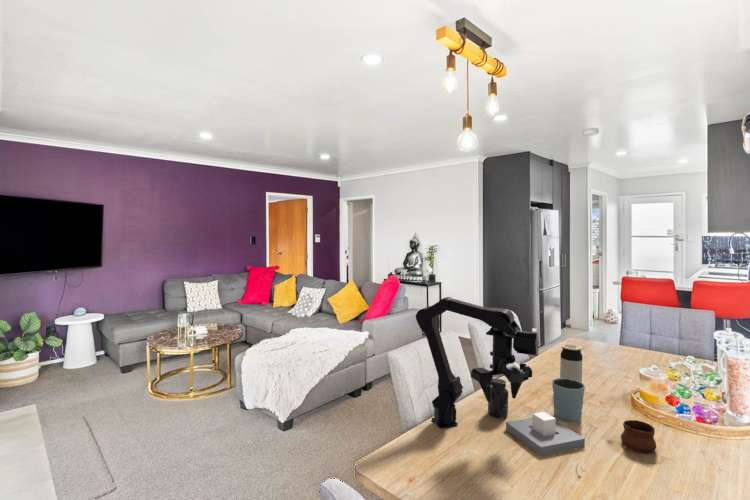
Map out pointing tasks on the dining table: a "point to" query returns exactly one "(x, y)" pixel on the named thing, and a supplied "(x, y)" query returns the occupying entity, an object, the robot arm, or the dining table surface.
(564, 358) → the travel mug
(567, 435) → the socket
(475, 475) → the dining table surface
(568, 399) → the teal cup
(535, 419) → the plug
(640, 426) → the ceramic pot
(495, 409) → the supplement bottle
